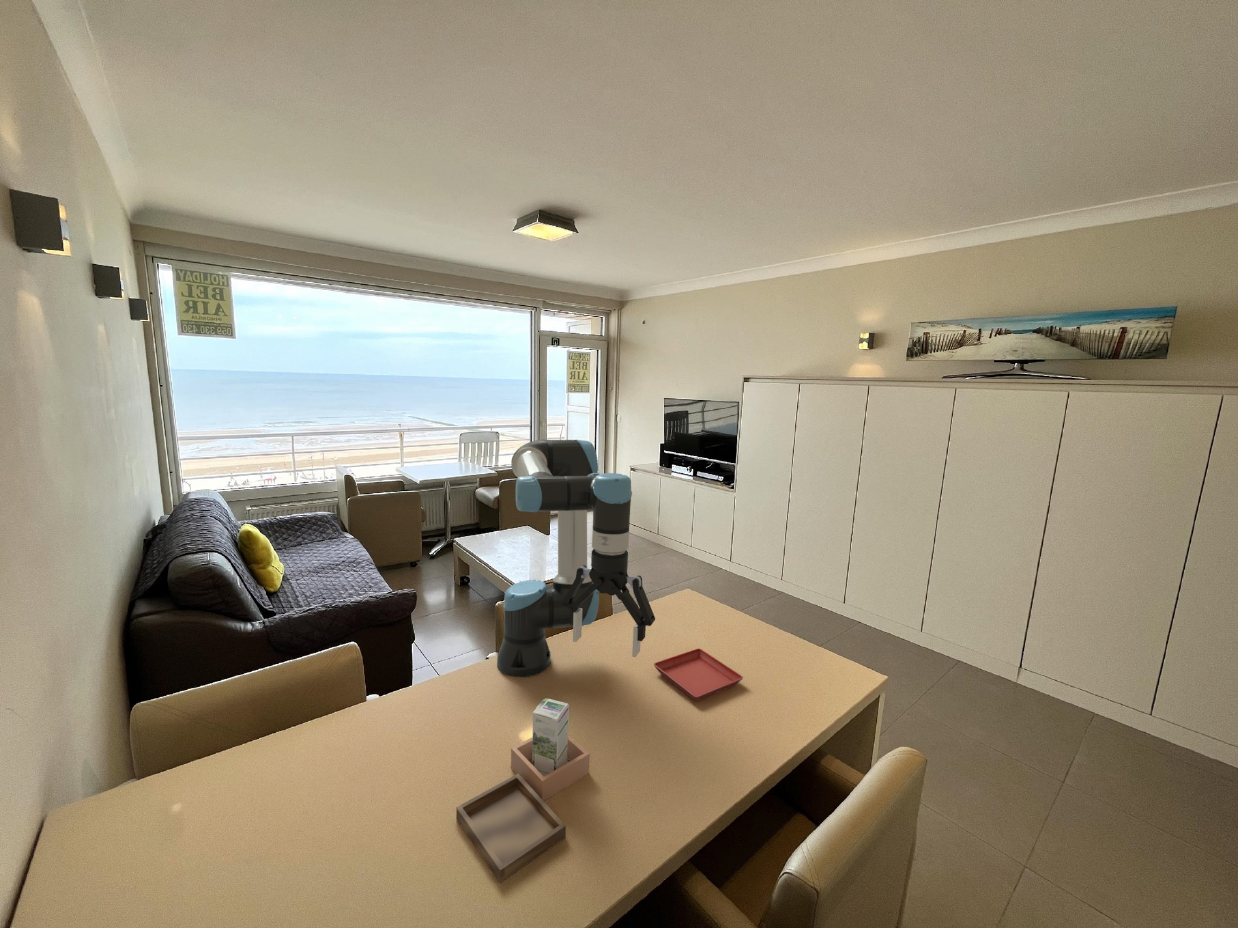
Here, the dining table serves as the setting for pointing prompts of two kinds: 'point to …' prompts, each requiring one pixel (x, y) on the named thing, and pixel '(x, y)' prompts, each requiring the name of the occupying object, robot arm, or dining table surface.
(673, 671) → the plant saucer
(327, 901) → the dining table surface
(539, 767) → the syrup box
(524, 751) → the holder
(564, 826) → the tray
